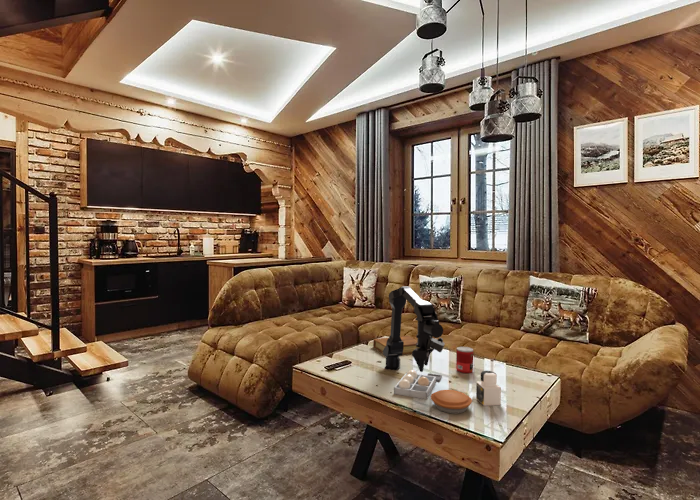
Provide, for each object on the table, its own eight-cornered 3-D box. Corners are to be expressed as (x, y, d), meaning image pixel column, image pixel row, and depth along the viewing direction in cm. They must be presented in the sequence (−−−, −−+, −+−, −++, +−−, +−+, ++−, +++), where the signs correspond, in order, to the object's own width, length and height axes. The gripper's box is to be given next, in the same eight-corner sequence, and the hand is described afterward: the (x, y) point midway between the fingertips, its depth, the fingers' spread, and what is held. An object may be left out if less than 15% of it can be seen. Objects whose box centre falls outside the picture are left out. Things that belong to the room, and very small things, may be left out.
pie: (437, 396, 162) (437, 384, 162) (476, 404, 154) (476, 392, 154) (424, 410, 149) (424, 397, 149) (466, 420, 141) (466, 406, 141)
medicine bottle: (475, 398, 160) (476, 369, 160) (492, 398, 160) (493, 369, 160) (483, 406, 153) (483, 375, 152) (501, 405, 153) (501, 375, 153)
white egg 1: (405, 381, 177) (405, 371, 177) (408, 378, 181) (408, 367, 181) (415, 383, 175) (416, 372, 175) (418, 379, 180) (418, 369, 179)
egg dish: (425, 379, 181) (425, 377, 181) (428, 375, 187) (428, 373, 187) (439, 381, 179) (439, 379, 179) (441, 377, 185) (441, 375, 184)
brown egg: (427, 390, 166) (427, 379, 166) (416, 389, 168) (416, 378, 168) (430, 386, 171) (430, 375, 171) (419, 385, 173) (419, 374, 173)
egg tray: (393, 393, 164) (393, 387, 164) (406, 378, 183) (406, 372, 183) (426, 399, 159) (426, 392, 159) (435, 382, 178) (436, 376, 178)
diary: (407, 344, 244) (407, 335, 243) (422, 353, 226) (423, 343, 226) (373, 347, 236) (373, 338, 236) (386, 356, 218) (386, 346, 218)
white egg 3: (397, 392, 165) (397, 380, 165) (400, 388, 169) (400, 377, 169) (408, 393, 163) (408, 382, 163) (411, 389, 167) (411, 378, 167)
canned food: (473, 374, 189) (474, 351, 189) (456, 372, 191) (457, 350, 191) (472, 368, 197) (472, 347, 197) (455, 367, 198) (456, 346, 198)
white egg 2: (401, 386, 171) (401, 375, 171) (404, 382, 175) (404, 372, 175) (412, 388, 169) (412, 377, 169) (415, 384, 173) (415, 373, 173)
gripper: (439, 339, 157) (438, 378, 157) (446, 329, 174) (446, 364, 175) (412, 336, 161) (411, 374, 162) (421, 327, 179) (421, 361, 179)
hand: (423, 368), depth 169 cm, fingers open, 9 cm apart
